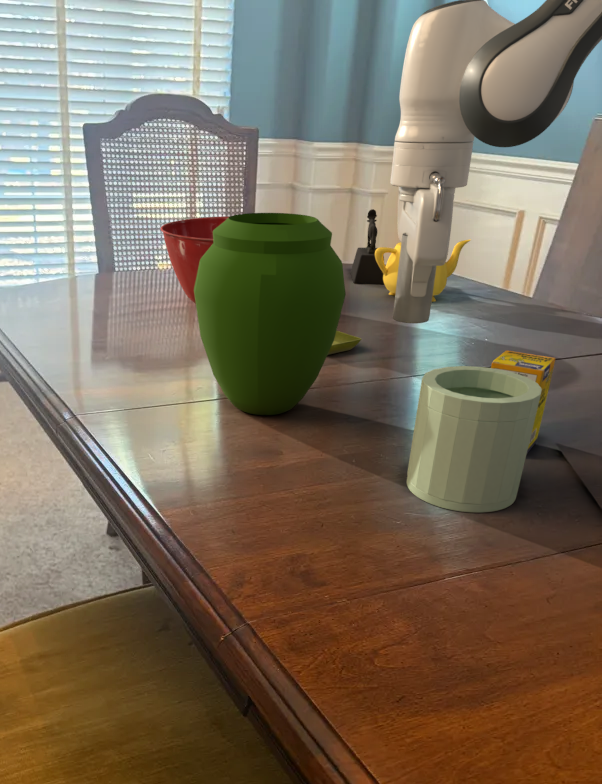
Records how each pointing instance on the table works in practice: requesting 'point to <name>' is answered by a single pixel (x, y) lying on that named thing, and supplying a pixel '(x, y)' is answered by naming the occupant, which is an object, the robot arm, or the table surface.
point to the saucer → (343, 342)
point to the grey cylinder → (405, 303)
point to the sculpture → (368, 258)
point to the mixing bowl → (189, 247)
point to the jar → (471, 437)
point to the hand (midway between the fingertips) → (414, 290)
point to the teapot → (393, 265)
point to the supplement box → (534, 370)
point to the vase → (268, 307)
